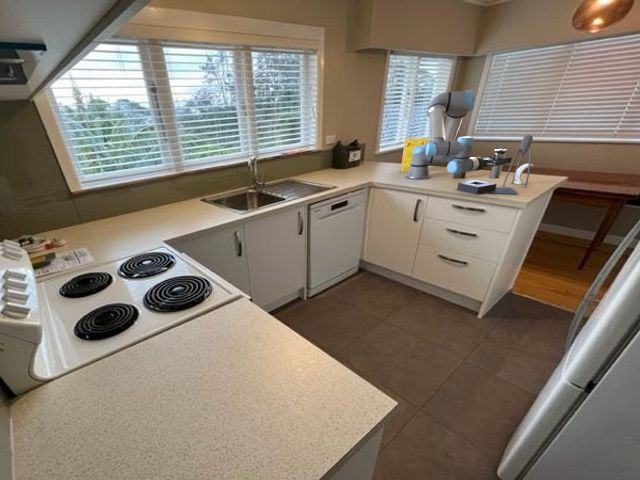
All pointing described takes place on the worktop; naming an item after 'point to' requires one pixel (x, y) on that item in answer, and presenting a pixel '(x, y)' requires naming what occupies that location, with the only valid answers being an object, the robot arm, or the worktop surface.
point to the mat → (503, 191)
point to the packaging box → (411, 151)
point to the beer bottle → (459, 175)
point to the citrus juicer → (524, 149)
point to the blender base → (476, 186)
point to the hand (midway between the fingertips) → (505, 159)
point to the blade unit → (497, 169)
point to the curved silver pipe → (519, 172)
